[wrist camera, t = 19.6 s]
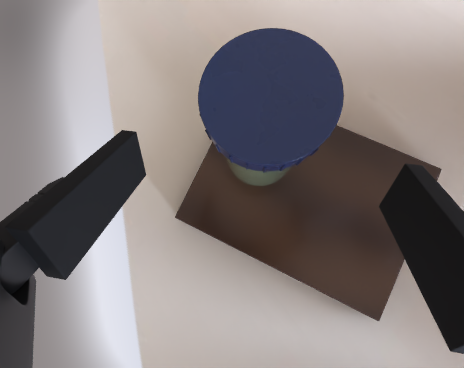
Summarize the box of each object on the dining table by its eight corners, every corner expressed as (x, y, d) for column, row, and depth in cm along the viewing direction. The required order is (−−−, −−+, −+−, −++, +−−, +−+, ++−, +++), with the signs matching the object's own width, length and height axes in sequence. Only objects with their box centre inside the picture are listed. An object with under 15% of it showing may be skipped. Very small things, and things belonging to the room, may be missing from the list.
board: (241, 90, 27) (240, 85, 25) (432, 170, 24) (442, 168, 23) (178, 217, 25) (174, 217, 24) (372, 316, 23) (379, 321, 22)
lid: (237, 36, 15) (235, 7, 13) (351, 80, 14) (368, 57, 12) (183, 141, 14) (172, 128, 12) (298, 194, 13) (307, 190, 11)
